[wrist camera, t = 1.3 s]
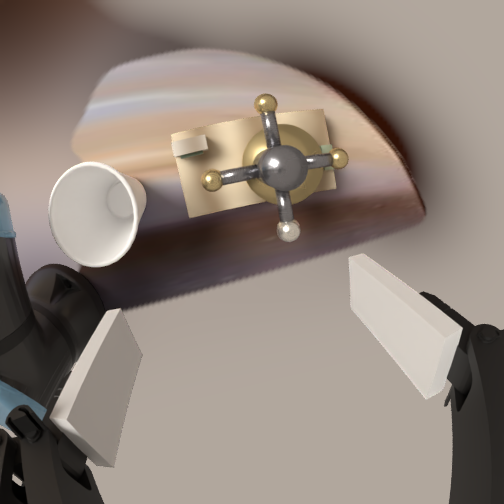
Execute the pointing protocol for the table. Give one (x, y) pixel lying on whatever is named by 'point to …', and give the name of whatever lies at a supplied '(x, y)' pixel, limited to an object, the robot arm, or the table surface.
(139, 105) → the table surface
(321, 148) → the stand
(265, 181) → the capstan
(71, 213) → the cup
